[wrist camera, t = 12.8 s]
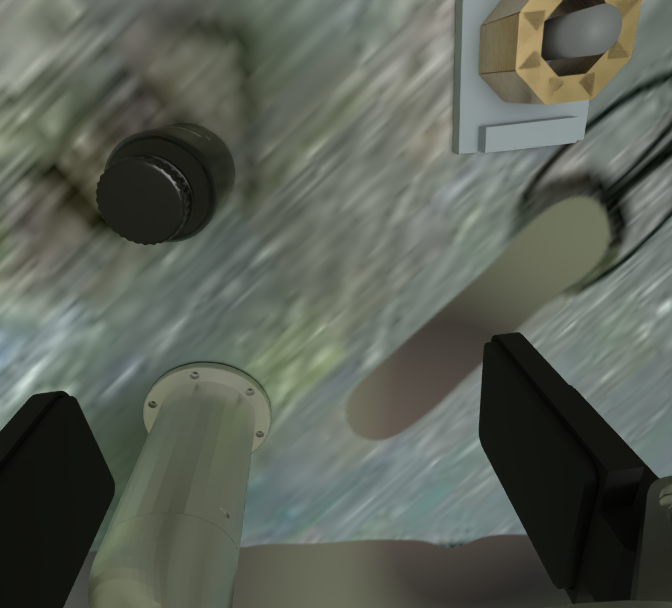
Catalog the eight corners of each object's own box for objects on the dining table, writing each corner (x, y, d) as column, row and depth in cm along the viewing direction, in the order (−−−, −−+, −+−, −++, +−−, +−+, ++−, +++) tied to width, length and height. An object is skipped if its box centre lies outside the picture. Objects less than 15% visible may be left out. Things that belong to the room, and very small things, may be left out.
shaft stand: (572, 137, 36) (659, 152, 27) (452, 151, 35) (502, 170, 27) (602, -82, 29) (727, -152, 21) (457, -67, 29) (523, -133, 21)
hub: (571, 94, 33) (624, 95, 27) (477, 105, 33) (512, 108, 27) (585, -23, 30) (649, -48, 24) (481, -11, 29) (522, -34, 24)
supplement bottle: (204, 105, 32) (158, 112, 22) (251, 188, 35) (231, 230, 25) (127, 148, 33) (46, 175, 23) (179, 225, 36) (129, 282, 25)
